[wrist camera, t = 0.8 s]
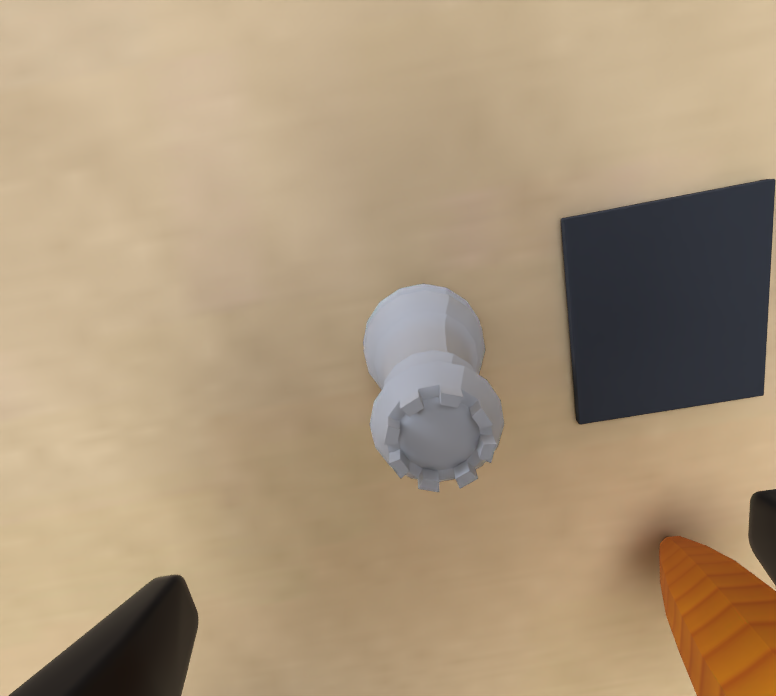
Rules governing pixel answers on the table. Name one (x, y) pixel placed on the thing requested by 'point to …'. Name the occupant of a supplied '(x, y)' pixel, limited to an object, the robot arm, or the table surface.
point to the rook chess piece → (431, 387)
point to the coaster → (669, 301)
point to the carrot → (719, 620)
